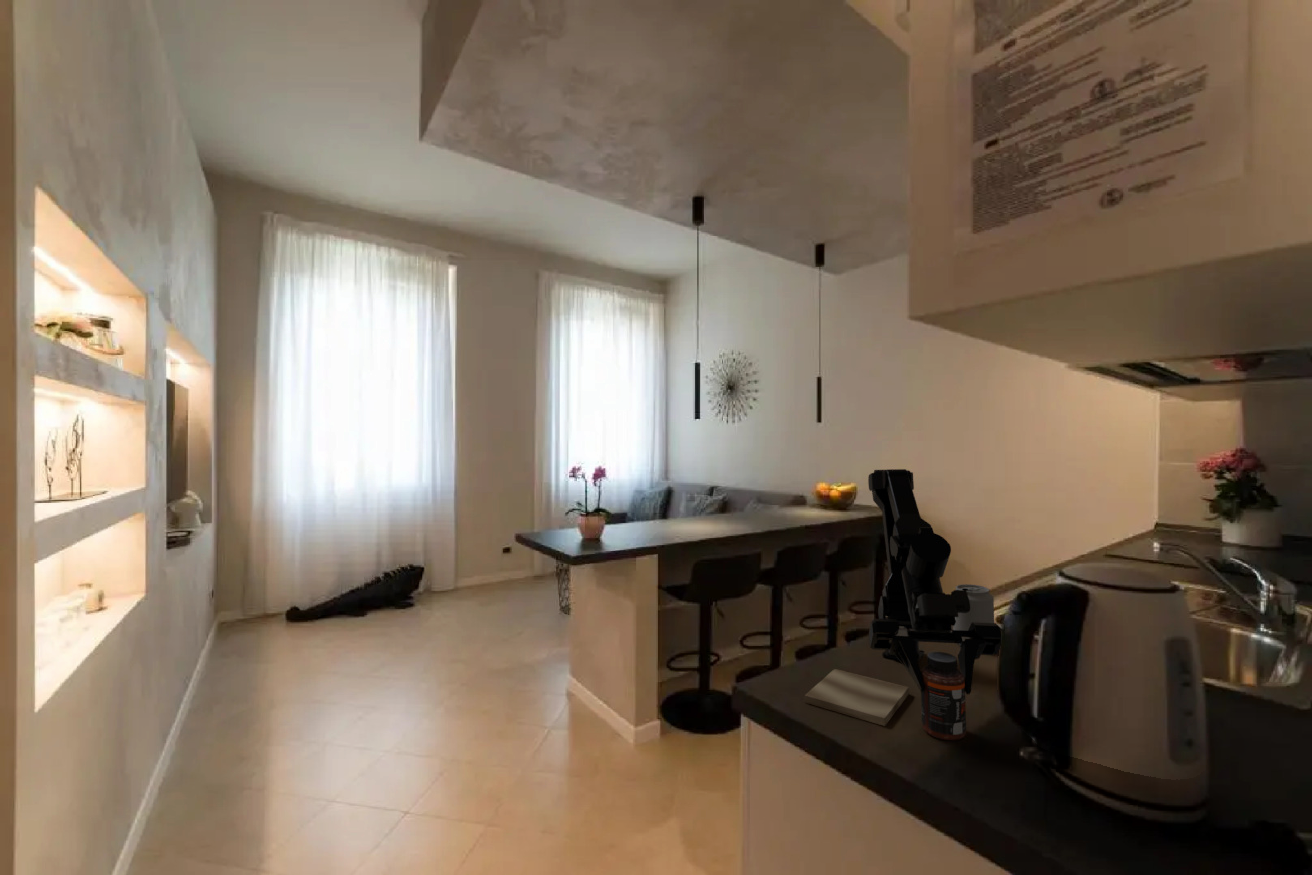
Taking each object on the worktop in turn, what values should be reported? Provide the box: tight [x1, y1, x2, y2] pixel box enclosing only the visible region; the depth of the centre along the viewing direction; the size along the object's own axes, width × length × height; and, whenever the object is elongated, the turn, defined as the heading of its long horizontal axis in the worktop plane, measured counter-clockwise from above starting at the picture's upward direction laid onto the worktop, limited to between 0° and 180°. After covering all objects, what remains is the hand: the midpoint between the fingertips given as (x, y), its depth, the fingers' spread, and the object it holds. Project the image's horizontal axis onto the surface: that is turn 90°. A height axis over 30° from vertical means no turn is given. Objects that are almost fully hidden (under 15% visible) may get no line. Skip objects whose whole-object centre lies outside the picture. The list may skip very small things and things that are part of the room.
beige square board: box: [804, 668, 910, 727], centre depth 96 cm, size 13×13×1 cm
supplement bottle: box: [920, 651, 967, 741], centre depth 85 cm, size 6×6×11 cm
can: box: [952, 583, 995, 645], centre depth 117 cm, size 8×8×12 cm
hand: (945, 692), depth 83 cm, fingers closed on supplement bottle, 6 cm apart
